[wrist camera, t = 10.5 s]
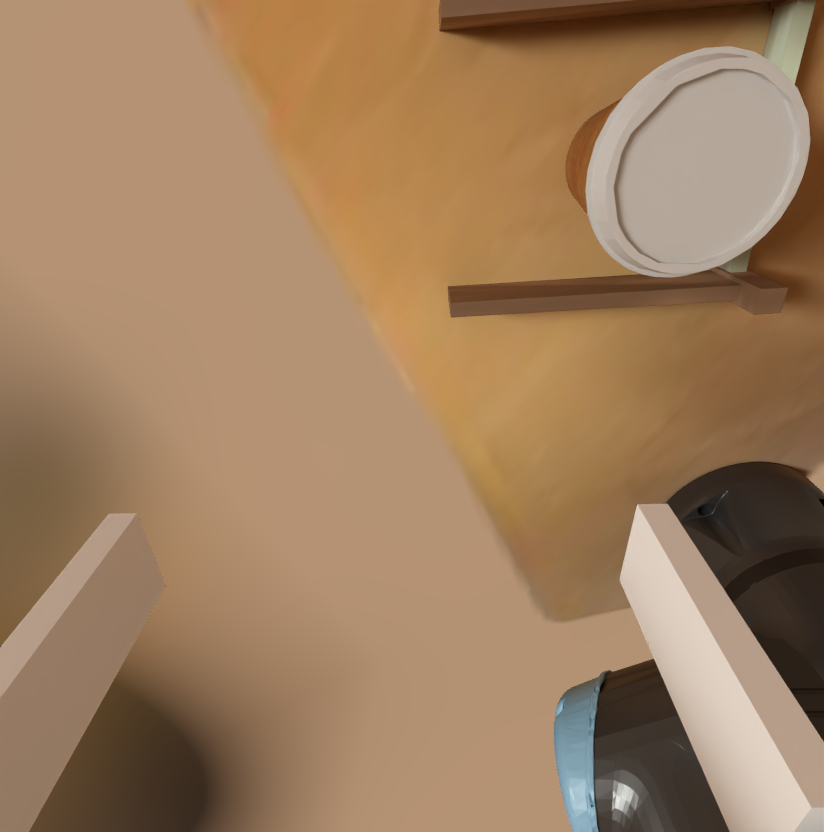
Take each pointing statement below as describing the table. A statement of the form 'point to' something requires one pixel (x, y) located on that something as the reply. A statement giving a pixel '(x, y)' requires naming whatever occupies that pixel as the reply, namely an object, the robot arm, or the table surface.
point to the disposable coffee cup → (692, 162)
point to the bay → (529, 3)
